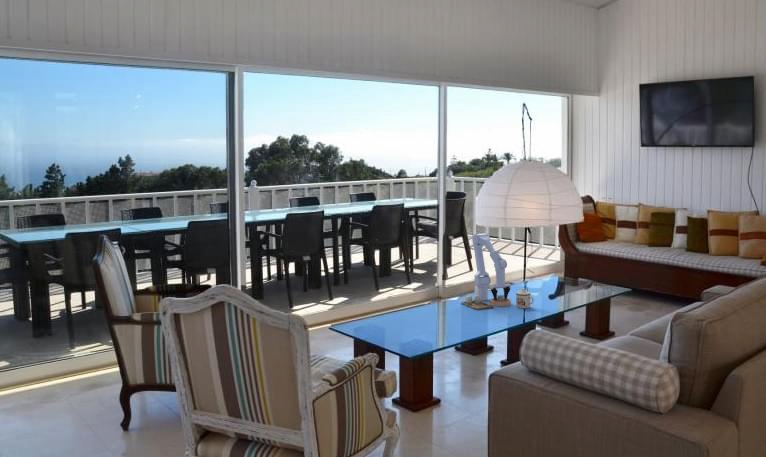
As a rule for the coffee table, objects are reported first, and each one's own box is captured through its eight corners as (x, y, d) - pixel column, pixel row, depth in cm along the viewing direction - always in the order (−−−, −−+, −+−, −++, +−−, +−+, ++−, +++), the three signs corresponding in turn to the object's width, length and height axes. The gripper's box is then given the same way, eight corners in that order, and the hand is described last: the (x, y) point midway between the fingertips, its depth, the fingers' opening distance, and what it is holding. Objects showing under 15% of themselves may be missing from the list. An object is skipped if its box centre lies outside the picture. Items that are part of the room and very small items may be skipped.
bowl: (486, 303, 460) (486, 299, 459) (503, 301, 465) (503, 297, 464) (497, 307, 448) (497, 302, 448) (514, 305, 453) (514, 300, 453)
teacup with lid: (513, 307, 449) (513, 289, 448) (521, 304, 456) (521, 286, 454) (529, 309, 441) (529, 291, 440) (537, 307, 447) (537, 289, 446)
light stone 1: (464, 304, 457) (464, 296, 456) (470, 303, 458) (470, 295, 457) (468, 305, 453) (467, 297, 452) (473, 305, 454) (473, 296, 454)
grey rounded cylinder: (496, 303, 457) (496, 295, 457) (501, 303, 459) (501, 294, 458) (499, 304, 454) (499, 296, 453) (504, 304, 455) (504, 295, 454)
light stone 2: (473, 303, 459) (472, 295, 458) (478, 302, 460) (478, 294, 460) (476, 304, 455) (476, 296, 455) (481, 304, 457) (481, 295, 456)
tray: (461, 304, 459) (460, 302, 458) (477, 302, 464) (477, 300, 463) (476, 311, 441) (476, 308, 440) (493, 308, 446) (493, 306, 445)
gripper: (494, 280, 448) (494, 301, 450) (513, 278, 454) (513, 299, 455) (488, 278, 454) (488, 299, 456) (507, 276, 460) (507, 297, 462)
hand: (500, 299), depth 456 cm, fingers open, 7 cm apart
